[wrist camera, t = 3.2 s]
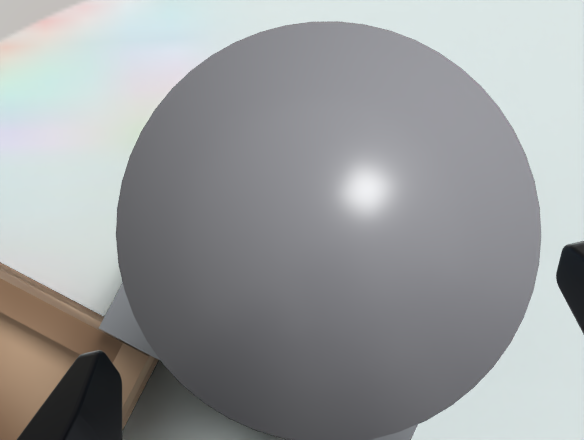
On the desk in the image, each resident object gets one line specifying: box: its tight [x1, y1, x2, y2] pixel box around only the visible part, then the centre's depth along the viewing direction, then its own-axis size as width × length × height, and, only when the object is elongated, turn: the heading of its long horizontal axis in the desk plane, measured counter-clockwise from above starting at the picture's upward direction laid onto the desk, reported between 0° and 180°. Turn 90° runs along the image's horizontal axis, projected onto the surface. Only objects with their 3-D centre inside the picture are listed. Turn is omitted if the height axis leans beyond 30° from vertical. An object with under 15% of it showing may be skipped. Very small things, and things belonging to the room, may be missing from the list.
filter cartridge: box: [116, 22, 541, 440], centre depth 12 cm, size 5×5×12 cm
